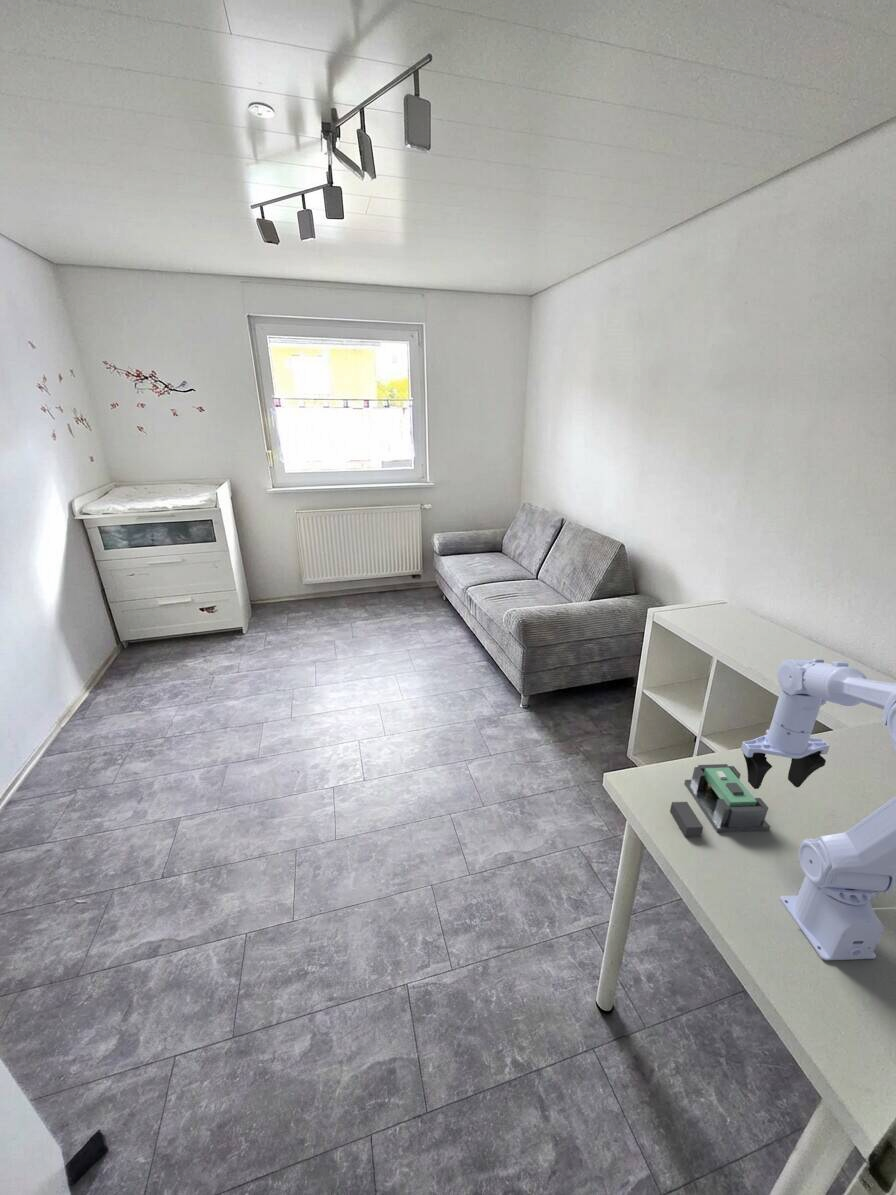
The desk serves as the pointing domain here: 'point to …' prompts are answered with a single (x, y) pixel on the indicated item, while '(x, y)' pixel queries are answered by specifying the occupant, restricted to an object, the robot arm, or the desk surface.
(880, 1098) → the desk surface
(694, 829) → the dark grey rectangular block
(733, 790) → the board
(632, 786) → the desk surface
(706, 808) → the chassis
